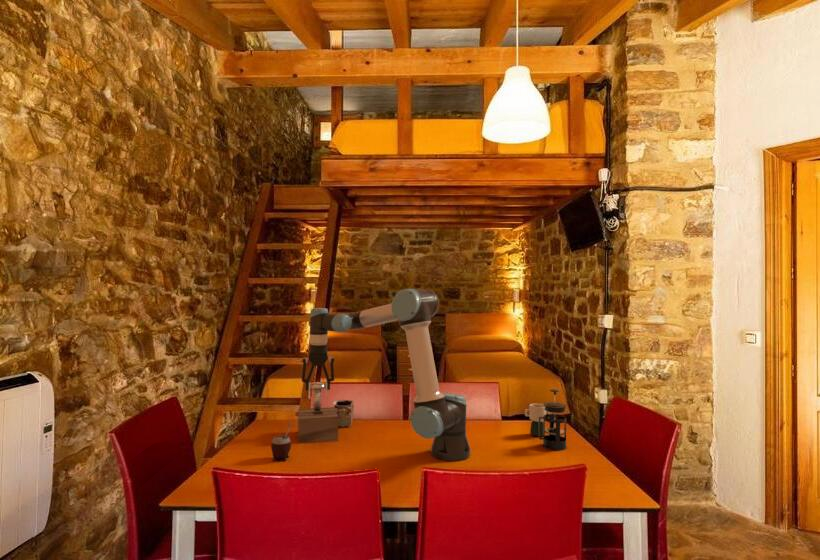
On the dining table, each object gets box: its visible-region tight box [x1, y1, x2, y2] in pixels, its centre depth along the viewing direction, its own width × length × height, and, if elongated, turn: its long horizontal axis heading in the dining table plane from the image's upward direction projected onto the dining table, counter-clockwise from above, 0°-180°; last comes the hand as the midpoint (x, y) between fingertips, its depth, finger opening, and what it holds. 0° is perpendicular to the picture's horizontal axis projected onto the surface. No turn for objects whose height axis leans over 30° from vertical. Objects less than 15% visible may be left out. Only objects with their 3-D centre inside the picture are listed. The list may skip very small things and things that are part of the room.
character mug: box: [524, 403, 552, 437], centre depth 211 cm, size 11×7×13 cm, turn 80°
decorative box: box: [332, 399, 355, 428], centre depth 228 cm, size 13×20×10 cm, turn 177°
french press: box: [538, 388, 568, 451], centre depth 196 cm, size 12×9×23 cm
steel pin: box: [310, 381, 325, 411], centre depth 206 cm, size 6×6×12 cm
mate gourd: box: [270, 418, 298, 463], centre depth 179 cm, size 8×8×15 cm
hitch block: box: [297, 406, 339, 444], centre depth 206 cm, size 16×16×10 cm
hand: (317, 397), depth 206 cm, fingers closed on steel pin, 6 cm apart
